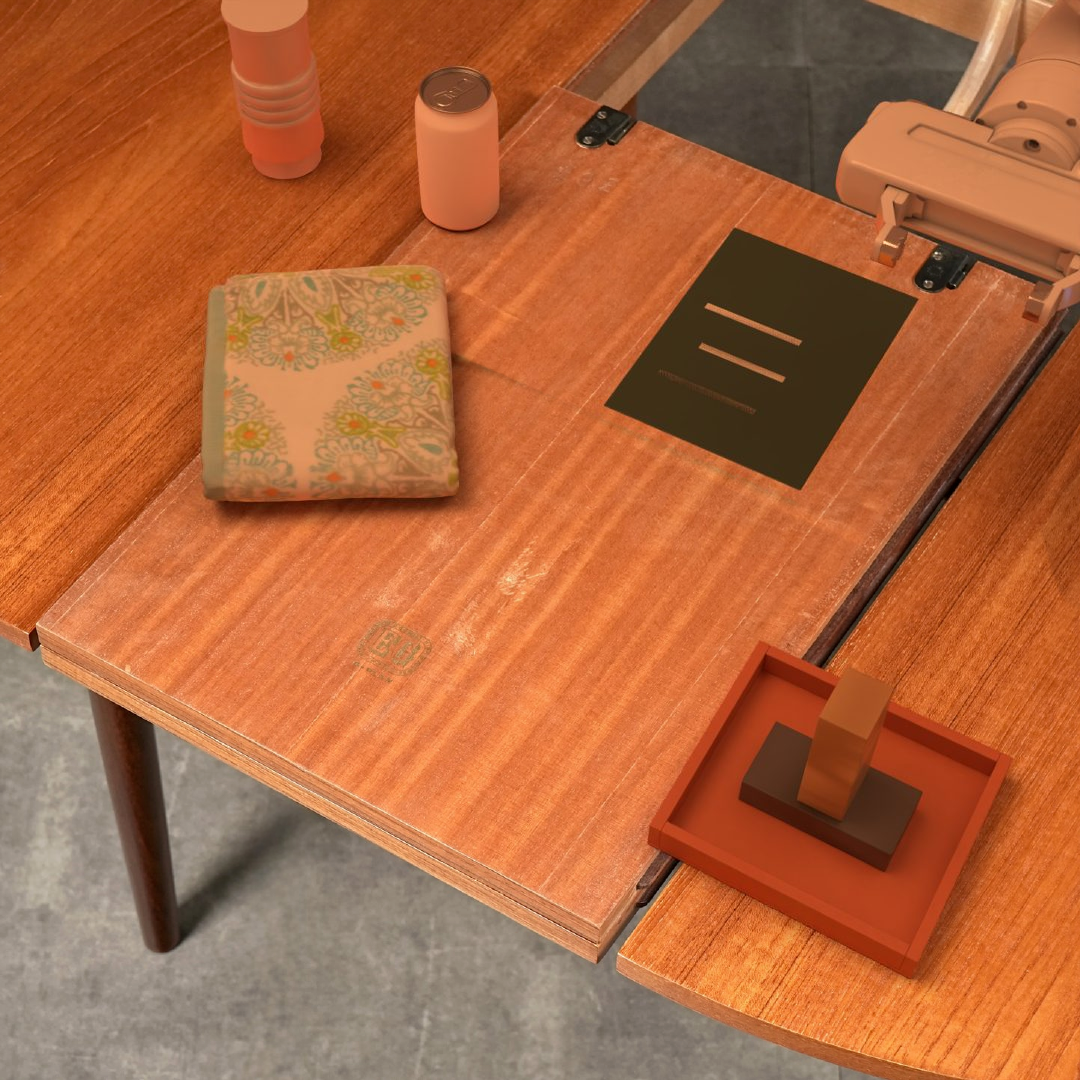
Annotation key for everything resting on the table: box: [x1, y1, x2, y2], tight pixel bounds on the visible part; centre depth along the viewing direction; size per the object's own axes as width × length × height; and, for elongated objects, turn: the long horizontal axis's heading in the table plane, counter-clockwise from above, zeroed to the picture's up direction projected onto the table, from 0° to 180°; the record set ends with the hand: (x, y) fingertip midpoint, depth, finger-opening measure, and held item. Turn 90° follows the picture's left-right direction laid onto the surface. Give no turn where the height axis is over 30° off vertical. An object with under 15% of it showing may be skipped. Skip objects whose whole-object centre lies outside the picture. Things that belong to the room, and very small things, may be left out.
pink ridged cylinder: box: [220, 0, 326, 180], centre depth 137 cm, size 7×7×15 cm
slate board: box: [603, 227, 919, 491], centre depth 129 cm, size 16×22×1 cm
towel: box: [200, 264, 460, 503], centre depth 125 cm, size 18×21×5 cm
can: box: [414, 65, 500, 232], centre depth 135 cm, size 6×6×12 cm
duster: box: [738, 666, 923, 872], centre depth 102 cm, size 10×5×12 cm, turn 60°
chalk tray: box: [646, 639, 1014, 979], centre depth 106 cm, size 18×16×2 cm
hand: (958, 285), depth 98 cm, fingers open, 8 cm apart
